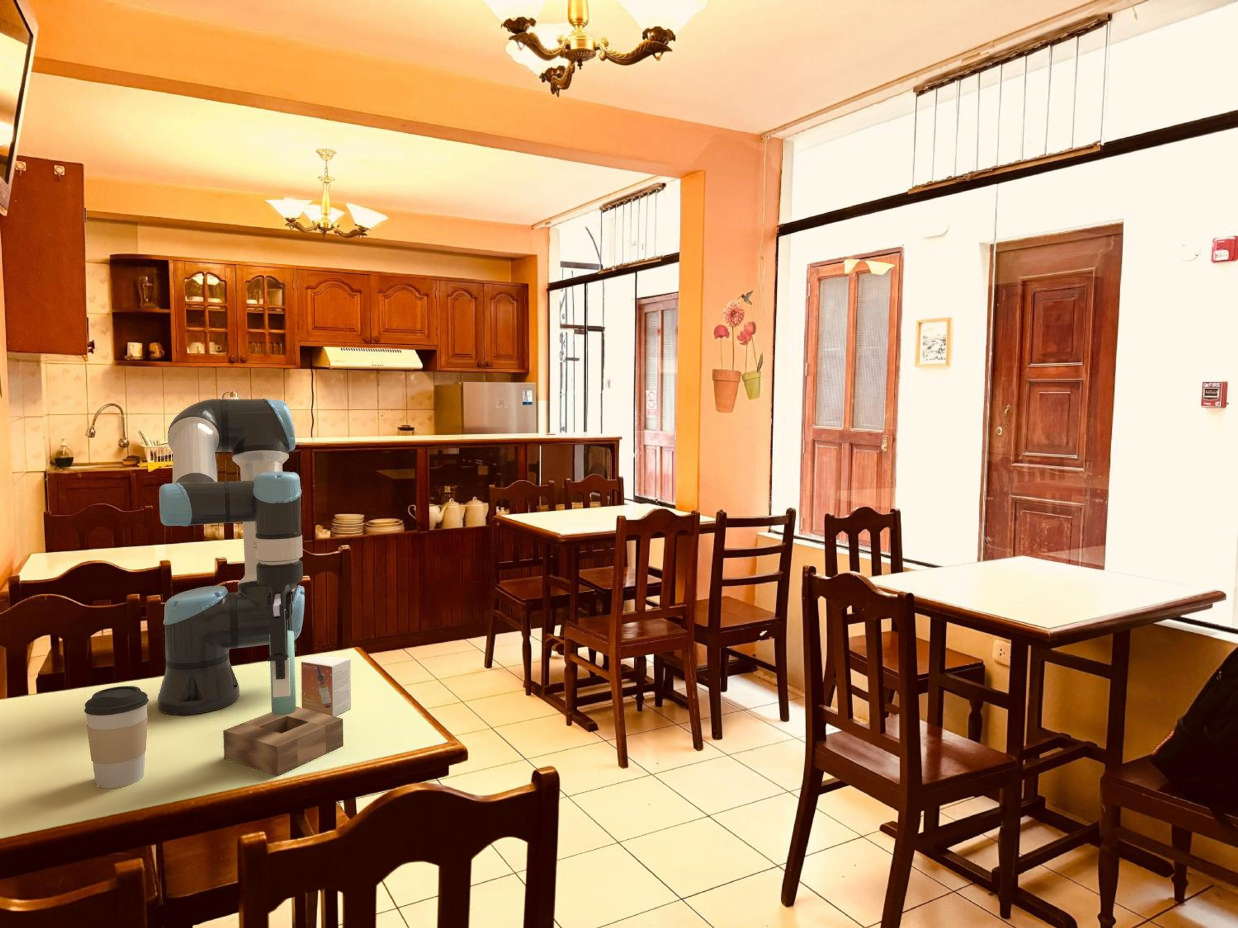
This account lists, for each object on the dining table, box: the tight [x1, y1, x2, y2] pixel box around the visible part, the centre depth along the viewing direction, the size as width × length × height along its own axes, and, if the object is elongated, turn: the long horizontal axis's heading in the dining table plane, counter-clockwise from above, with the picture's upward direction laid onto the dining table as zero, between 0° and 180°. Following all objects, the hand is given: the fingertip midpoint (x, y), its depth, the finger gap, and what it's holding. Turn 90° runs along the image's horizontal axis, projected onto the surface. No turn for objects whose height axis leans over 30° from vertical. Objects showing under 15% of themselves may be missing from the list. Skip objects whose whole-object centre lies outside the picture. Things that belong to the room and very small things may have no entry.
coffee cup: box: [83, 685, 150, 789], centre depth 136 cm, size 9×9×15 cm
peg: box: [269, 631, 297, 716], centre depth 146 cm, size 4×4×14 cm
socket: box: [222, 706, 344, 777], centre depth 147 cm, size 14×14×5 cm
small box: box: [300, 654, 352, 717], centre depth 166 cm, size 8×6×10 cm
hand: (283, 691), depth 146 cm, fingers closed on peg, 4 cm apart
